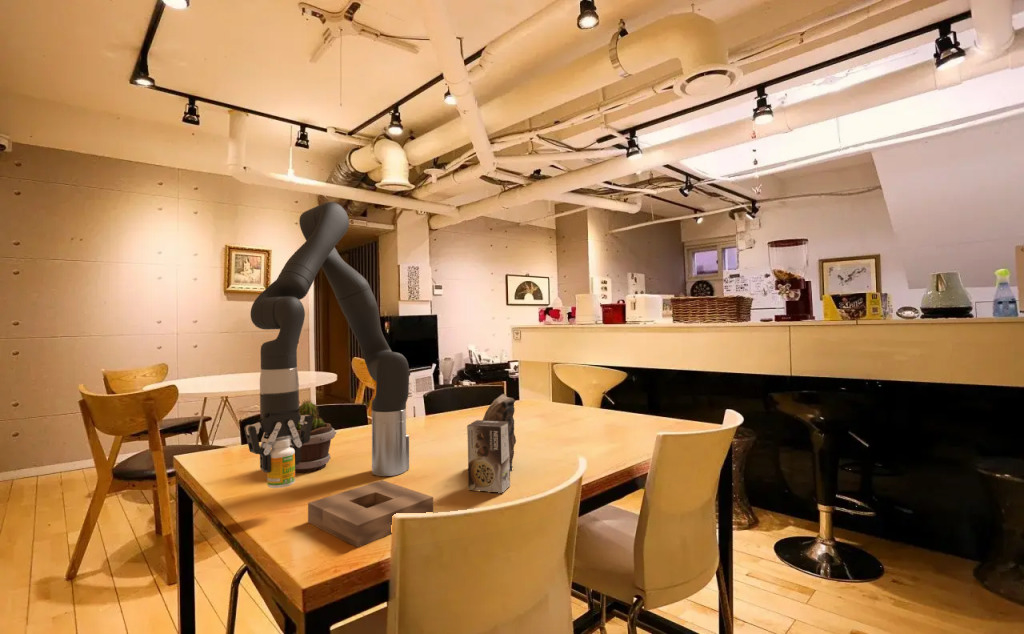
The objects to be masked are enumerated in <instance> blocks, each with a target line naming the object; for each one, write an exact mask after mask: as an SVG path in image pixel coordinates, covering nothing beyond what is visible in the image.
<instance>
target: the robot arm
mask: <svg viewBox="0 0 1024 634" xmlns="http://www.w3.org/2000/svg"><path fill="white" fill-rule="evenodd" d="M298 221H299V227H300V231H301V233H302V235H303V237H304V239H305V242H304V243H303V244H302V245H301V246H300V247H299V248H298V249H297V250H296V251H294V253H293V254H292V255H291V256H290V257H289V259H288V260H287V261H286V262H285V264H284V266H283V268H282V269H281V270H280V273H279V274H278V276H277V278H276V279H275V280H274V281H273V282H271V284H270V285H268V286H267V287H266V288H265V289H264V290H263V291H262V292H261V293H260V294H258V296H256V299H254V301H253V303H252V306H251V308H250V320H251V322H252V324H253V325H254V326H255V327H256V328H257V329H261V330H266V331H267V330H279V332H278V334H277V337H276V338H275V339H272V340H269V341H265V342H263V343H262V344H261V346H260V377H259V408H260V409H259V410H260V411H259V412H260V413H259V414H260V416H259V417H260V418H259V419H258V422H256V423H253V424H246V425H245V426H244V434H245V438H246V442H247V446H248V451H249V452H250V453H252V454H256V455H259V468H260V470H261V471H262V472H263V473H265V474H267V473H268V472H271V455H270V454H269V453H270V450H271V449H272V445H273V444H274V442H275V440H276V438H279V437H282V436H287V437H290V438H291V445H292V448H294V450H295V465H298V464H299V462H300V461H301V446H302V445H303V444H305V443H308V442H309V441H310V435H311V428H312V422H313V416H310V415H300V414H299V412H300V411H298V410H300V407H299V406H300V390H299V389H300V383H299V379H300V378H299V373H298V372H299V371H298V344H299V341H300V338H301V337H300V336H301V333H302V329H303V327H304V322H305V315H306V312H305V311H306V310H305V307H304V304H303V302H302V301H301V300H303V299H304V298H305V297H306V296H307V295H308V294H309V293H308V292H309V291H310V289H311V287H312V286H313V285H312V284H313V283H314V281H315V279H316V276H318V275H317V274H318V273H319V271H320V269H322V271H323V273H324V275H325V276H326V279H327V281H328V283H329V285H330V287H331V290H332V292H333V293H334V295H335V298H336V300H337V304H338V305H339V307H340V310H341V312H342V314H343V315H344V318H345V320H346V321H347V324H348V326H349V327H350V329H351V332H352V333H353V335H354V337H355V339H356V341H357V343H358V345H359V348H360V352H361V353H362V357H363V360H364V363H365V366H366V369H367V372H368V374H369V376H370V378H372V380H374V381H375V382H376V383H375V386H376V387H375V396H374V398H373V399H372V400H371V474H372V475H374V476H378V477H392V476H397V475H401V474H403V473H406V471H407V470H410V435H409V434H407V403H408V399H409V392H410V367H409V366H410V365H409V362H408V360H407V358H406V357H405V356H404V355H403V354H402V353H400V352H396V351H392V349H391V347H390V346H389V344H388V341H387V340H386V338H385V336H384V334H383V331H382V326H381V319H380V311H379V306H378V303H377V300H376V297H375V295H374V293H373V291H372V288H371V286H370V283H369V282H368V280H367V279H366V278H365V277H364V276H363V275H362V274H361V273H359V272H358V271H357V270H356V269H354V268H353V267H352V266H351V265H350V264H348V263H347V262H346V261H345V260H344V259H343V258H342V257H341V255H340V254H339V251H338V250H337V249H336V246H337V245H338V243H339V242H340V241H341V240H342V238H343V237H344V236H345V235H346V234H347V231H348V230H349V227H350V219H349V216H348V213H347V211H346V209H344V207H343V206H342V205H341V204H339V203H337V202H334V201H327V202H324V203H323V202H322V203H321V204H319V205H316V206H313V207H312V208H310V209H308V210H305V211H304V212H302V213H301V214H300V216H299V220H298ZM299 421H300V424H301V430H300V436H299V434H298V432H297V430H296V426H297V424H298V423H299ZM260 429H261V430H262V431H263V435H262V437H261V439H260V441H261V443H260V441H259V437H258V435H259V432H260Z"/></svg>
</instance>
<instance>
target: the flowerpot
mask: <svg viewBox="0 0 1024 634" xmlns="http://www.w3.org/2000/svg"><path fill="white" fill-rule="evenodd" d="M317 408H318V405H316V403H314V402H313V401H311V399H306V400H305V399H303V400H302V402H301V403H300V405H299V410H298V411H299V414H300V415H310V416H313V422H312V428H311V435H310V441H309V442H308V443H305V444H303V445H302V446H301V461H300V462H299V464H298V465H295V473H307V472H314V471H316V470H317V469H318V470H321V469H323V468H325V467H326V466H327V464H328V463H329V461H330V459H332V458H331V454H330V453H329V451H330V448H331V447H330V446H331V441H332V440H333V439H334V438H335V437H336V434H337V432H336V431H335V428H333V427H332V425H331V423H327V422H324V420H323V419H324V417H323V418H322V417H320V416H319V411H320V410H319V409H317ZM296 430H297V432H298V434H299V436H300V430H301V424H300V421H299V423H298V424H297V426H296ZM282 437H287V436H282ZM290 447H292V445H290Z"/></svg>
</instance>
